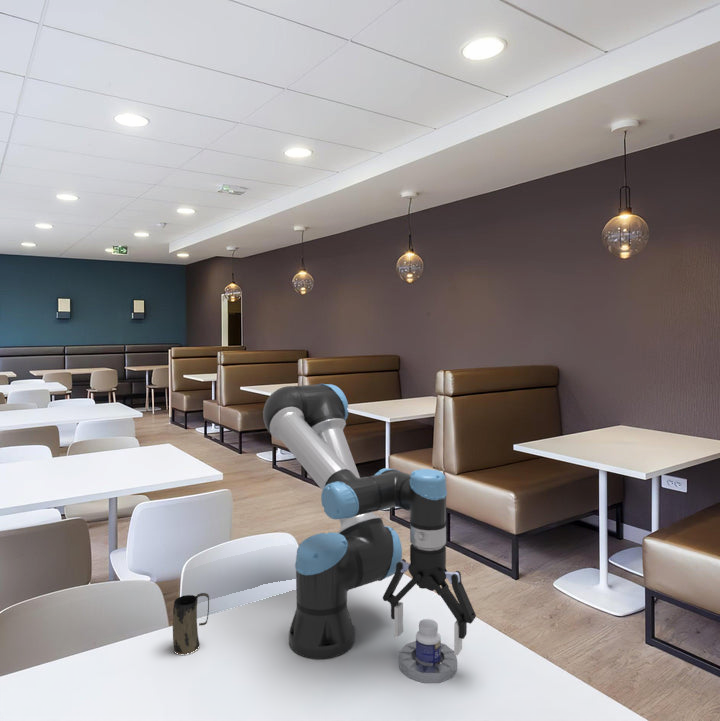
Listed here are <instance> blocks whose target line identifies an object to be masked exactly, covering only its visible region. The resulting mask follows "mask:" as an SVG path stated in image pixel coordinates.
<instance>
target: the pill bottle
mask: <svg viewBox="0 0 720 721" xmlns="http://www.w3.org/2000/svg"><path fill="white" fill-rule="evenodd" d="M438 628H439V626H438V622H437V621H436V620H434V619H431V618H430V619H429V618H425V619H421V620H420V621H419V622H418V631H417V632H416V634H415V641H416V658H415V662H416V663H418V664H421V665H425V666H435V665H438V664H440V663H442V661H441V643H442V641H441V640H442V639H441V635H440V633H439V631H438V630H439V629H438Z"/></svg>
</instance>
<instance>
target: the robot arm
mask: <svg viewBox="0 0 720 721" xmlns="http://www.w3.org/2000/svg"><path fill="white" fill-rule="evenodd" d="M348 408H349V403H348V400H347V397H346V395H345V392H343V390H342V389H341V388H340V387H338V386H337V385H334V384H331V383H329V384H325V383H318V384H309V385H308V384H307V385H287V386H282V387H280V388H278V389H276V390H274V391H273V392H272V393H271V394H270V395H269V397H268V398H267V399H266V401H265V403H264V407H263V412H262V413H263V414H262V417H263V422H264V425H265V428H266V430H267V431H268V433H269V434H270V435H271V436H272V437H273V438H274V439H275V440H277V441H281V442H282V443H283V444H284V445H285V447H286V448H287V449H288V450H289V452H290V453H291V454H292V455H293V456H294V458H295V459H296V461H297V462H299V464H300V465H301V466H302V467H303V469H304V470H305V471H306V472H307V473H308V475H309V476H310V477H311V478H312V479H313V481H314V482H315V483H316V484H317V486H318V487H319V488H320V489H321V490H322V491H321V496H320V497H321V498H320V501H321V506H322V507H323V509H324V510H323V511H324V513H325V515H326V516H327V517H328V518H329V519H331V520H339V523H340V528H339V530H338V532H330V531H329V532H327V533H325V532H322V533H321V532H320V533H316V534H313V535H310V536H309V537H307V538H305V539H303V540H302V541H301V543H300V544H299V545H298V547H297V549H296V556H295V563H294V567H295V576H296V577H295V581H296V582H295V583H296V584H295V585H296V586H295V589H296V591H295V592H296V596H295V597H296V609H295V612H294V614H293V617H292V620H291V623H290V624H291V625H290V627H289V632H288V644H289V647H290V648H291V650H292V651H294V653H296V654H298V655H300V656H303V657H306V658H309V659H310V658H311V659H329V658H334V657H338V656H340V655H342V654H344V653H346V652H348V651H349V650H350V649H351V648H352V647H353V646H354V644H355V642H356V640H355V639H356V637H355V636H356V631H355V626H354V623H353V621H352V617H351V613H350V611H349V608H348V591H349V590H353V589H355V588H356V589H357V588H359V587H360V588H361V587H363V586H365V585H368V584H373V583H375V582H380V581H383V580H385V579H386V578H389V577H392V576H393V577H392V578H391V580H390V583H389V584H388V586H387V588H386V590H385V592H384V594H383V596H382V600H383V601H384V602H388V603H389V604H390V618H391V620H393V621H394V623H393V624H394V629H393V630H394V637H395V638H399V637H400V636H401V634H403V632H404V602H401V600H402V599H403V598H404V596H406V595H407V593H408V592H410V591H411V590H412V588H414V586H418V588H419V589H426V590H428V591H430V592H433V591H435V593H436V594H437V595H438V596H439V597H440V598H442V600H443V602H444V603H445V605H446V606H447V608H448V609H449V611H450V612H451V614H452V615H453V617H454V618H455V620H456V621H455V622H454V624H453V625H454V627H453V628H454V630H453V632H454V633H453V636H454V638H453V639H454V640H453V641H454V642H453V646H454V647H453V651H454V655H456V656H459V654H460V653H461V651H462V650H463V640H464V639H465V637H467V631H468V630H467V628H468V627H467V626H468V624H472V623H473V622H474V620H476V617H477V615H476V612H475V610H474V606H472V603H471V601H470V598H469V595H468V594H467V590H466V589H465V587H464V585H463V583H462V582H463V581H462V574H461V572H460V570H456V571H455V572H452V571H451V572H450V571H448V570H447V568H446V567H447V566H446V565H447V547H446V546H445V545H446V544H447V496H448V491H447V482H446V476H445V474H444V472H442V471H440V470H437V469H430V468H420V469H415V470H413V471H412V472H411V474H410V473H406V472H403V471H401V470H398V469H395V468H388V467H387V468H385V467H384V468H382V469H379V470H378V471H377V472H376V473H374V475H371V476H363V477H361V476H360V473H359V472H358V471H359V470H358V468H357V466H356V462H355V461H354V458H353V455H352V452H351V450H350V446H349V444H348V441H347V438H346V435H345V433H344V429H345V427H346V426H347V422H346V420H347V419H348V416H349V409H348ZM391 508H399V509H402V510H405V511H408V512H409V516H410V518H409V525H410V526H409V527H410V528H409V530H410V532H409V534H410V535H409V541H410V544H409V561H410V563H409V562H407V560H406V559H404V558H403V548H402V542H401V539H400V536H399V534H398V533H397V531H396V530H394V528H393V527H391V526H387V525H385V524H384V522H383V519H382V517H381V516H379V515H377V514H375V513H374V512H379V511H383V510H387V509H391ZM407 571H408V572H409V574H410V575H411V579H410V581H408V582H407V584H405V586H404V587H403V588H402V589H401V590H400V591H399V592H398V593H396V595H395V594H394V593H395V591H396V590H397V588H398V586H399V583H400V581H401V580H402V578H403V576H404V574H405V573H406V572H407ZM446 579H447V580H448V581H449V584H450V585H451V587H452V590H453V592H454V594H453V592H452V591H451V589H450V588H449V584H448V583H447V582H446ZM454 595H455V596H454Z"/></svg>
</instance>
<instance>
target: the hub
mask: <svg viewBox="0 0 720 721" xmlns="http://www.w3.org/2000/svg"><path fill="white" fill-rule="evenodd" d="M414 659H416V640H415V641H411V642H409V643H406V644H404V646H403V647H402V648H401V649H400V650H399V651H398V664H399V670H400V671H401V672H402V673H403V674H404V675H406V677H408V678H409V679H411V680H414V681H417V682H420V683H423V684H435V683H436V684H437V683H438V684H440V683H442V682H445V681H447V680H450V679H452V678H453V677H454V676H455V674H456V673H457V670H458V659H457V655H454V649H452V648H451V647H449V645H447V644H445V643H442V642H441V662H440V664H438V665H435V666H425V665H421V664H418V663H416V660H414Z"/></svg>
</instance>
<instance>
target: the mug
mask: <svg viewBox="0 0 720 721" xmlns="http://www.w3.org/2000/svg"><path fill="white" fill-rule="evenodd" d="M200 597H207V614H206V621H205V622H199V624H198V613H197V612H198V610H197V609H198V598H200ZM209 610H210V595H209V594H208V593H206V592H200V593H198V594H197V595H193V594H186V595H182V596H181V595H180V596H179V597H177V598H176V599H175V600H174V602H173V610H172V643H173V652H174V651H175V652H176V653H178V654H187V653H191V652H193V651H195V650H196V649H198V647H199V646H200V641H199V632H198V626H205V625H207V623H208V619H209V612H210V611H209ZM199 648H200V647H199ZM198 650H199V649H198ZM175 652H174V653H175ZM176 653H175V654H176Z"/></svg>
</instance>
